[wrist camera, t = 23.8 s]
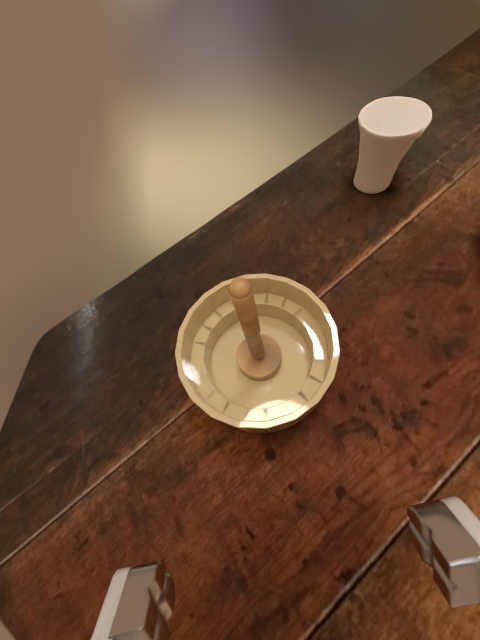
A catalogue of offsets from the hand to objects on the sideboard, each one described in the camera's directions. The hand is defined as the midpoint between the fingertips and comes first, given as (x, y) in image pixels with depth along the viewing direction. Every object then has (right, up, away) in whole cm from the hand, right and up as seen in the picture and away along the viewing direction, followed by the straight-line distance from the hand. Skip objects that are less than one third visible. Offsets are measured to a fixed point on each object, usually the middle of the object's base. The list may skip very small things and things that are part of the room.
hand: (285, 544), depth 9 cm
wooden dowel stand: (+1, +3, +23) cm, 24 cm away
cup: (+20, +30, +34) cm, 50 cm away
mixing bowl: (+1, +2, +24) cm, 24 cm away
